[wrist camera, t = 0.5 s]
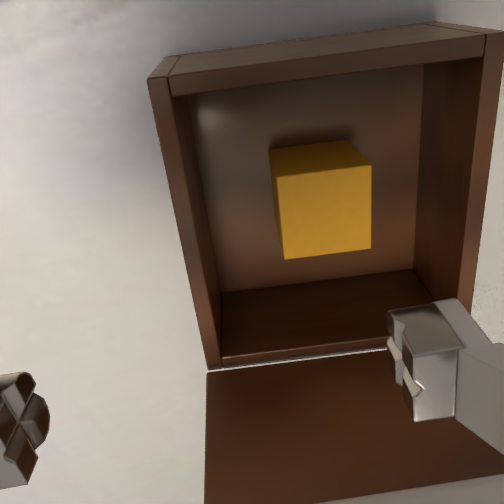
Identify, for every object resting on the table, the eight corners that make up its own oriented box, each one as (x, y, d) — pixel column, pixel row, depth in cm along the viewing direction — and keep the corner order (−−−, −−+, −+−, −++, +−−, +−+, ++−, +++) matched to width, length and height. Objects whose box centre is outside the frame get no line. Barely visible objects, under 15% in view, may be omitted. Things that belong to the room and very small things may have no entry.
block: (267, 149, 26) (276, 177, 22) (349, 138, 25) (372, 164, 22) (275, 223, 28) (283, 260, 24) (350, 213, 28) (371, 249, 24)
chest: (164, 56, 24) (145, 78, 18) (436, 21, 24) (508, 31, 18) (210, 297, 31) (207, 371, 25) (420, 271, 31) (467, 338, 25)
